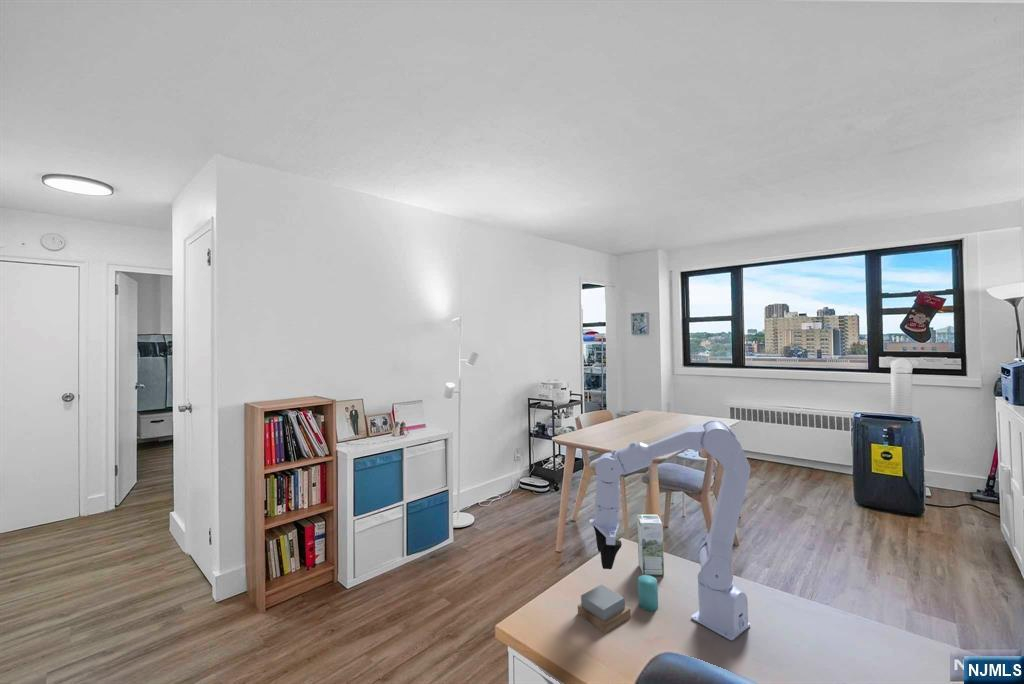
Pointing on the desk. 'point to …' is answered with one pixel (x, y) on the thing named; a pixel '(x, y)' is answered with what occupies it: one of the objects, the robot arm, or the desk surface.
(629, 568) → the desk surface
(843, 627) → the desk surface
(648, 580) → the teal capsule
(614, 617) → the walnut slab
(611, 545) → the robot arm
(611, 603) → the grey slab
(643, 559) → the syrup box
